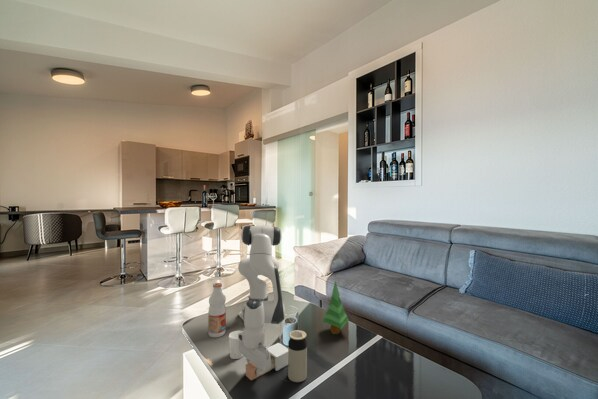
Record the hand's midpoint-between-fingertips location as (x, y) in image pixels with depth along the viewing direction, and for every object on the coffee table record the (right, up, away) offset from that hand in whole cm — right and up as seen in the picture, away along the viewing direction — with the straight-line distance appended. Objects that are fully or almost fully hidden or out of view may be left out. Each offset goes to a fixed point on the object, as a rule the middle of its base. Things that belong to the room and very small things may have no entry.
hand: (253, 371), depth 112 cm
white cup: (-11, -2, +15) cm, 18 cm away
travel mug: (+19, -2, -1) cm, 19 cm away
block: (0, -2, 0) cm, 2 cm away
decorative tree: (+40, -3, +37) cm, 55 cm away
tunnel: (+10, -2, +9) cm, 13 cm away
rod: (+8, -2, +8) cm, 11 cm away
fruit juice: (-27, -2, +35) cm, 44 cm away
